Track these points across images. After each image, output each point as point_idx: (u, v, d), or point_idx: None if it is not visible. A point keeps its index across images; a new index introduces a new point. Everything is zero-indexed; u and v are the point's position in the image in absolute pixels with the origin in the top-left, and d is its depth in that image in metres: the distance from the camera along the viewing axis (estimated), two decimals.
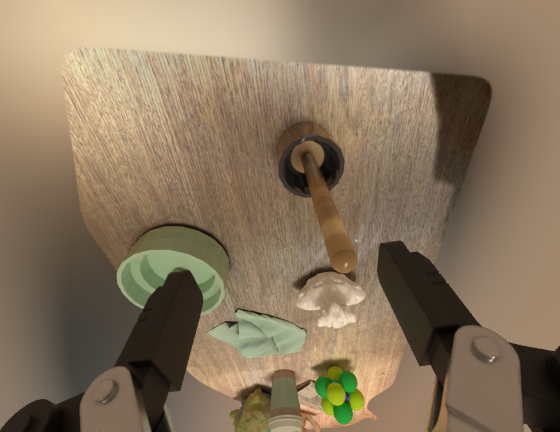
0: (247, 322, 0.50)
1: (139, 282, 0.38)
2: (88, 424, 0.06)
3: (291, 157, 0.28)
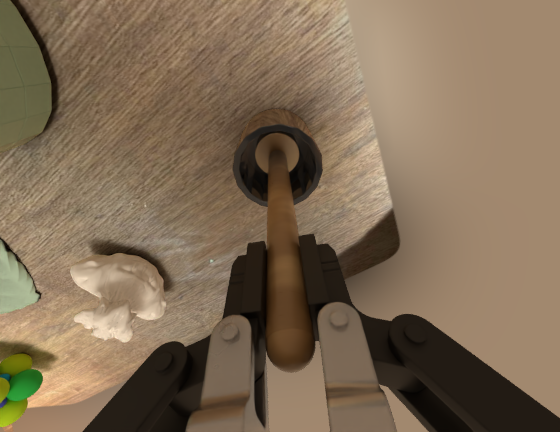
0: None
1: None
2: (226, 359, 0.06)
3: (266, 136, 0.21)
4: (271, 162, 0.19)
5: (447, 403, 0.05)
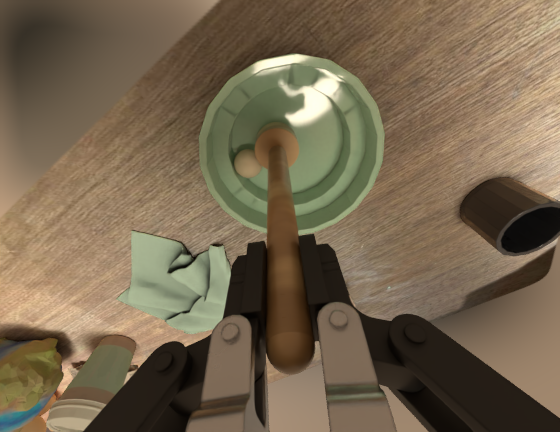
0: (204, 266, 0.34)
1: (235, 95, 0.19)
2: (226, 359, 0.06)
3: (268, 131, 0.21)
4: (271, 158, 0.19)
5: (447, 403, 0.05)
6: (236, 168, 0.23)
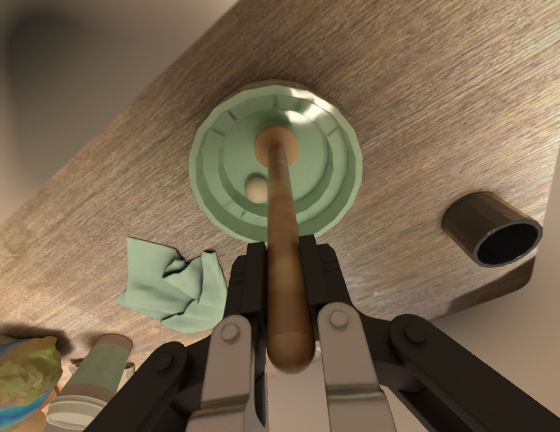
0: (197, 271, 0.35)
1: (223, 117, 0.21)
2: (226, 359, 0.06)
3: (268, 129, 0.20)
4: (271, 156, 0.18)
5: (447, 403, 0.05)
6: (262, 202, 0.26)
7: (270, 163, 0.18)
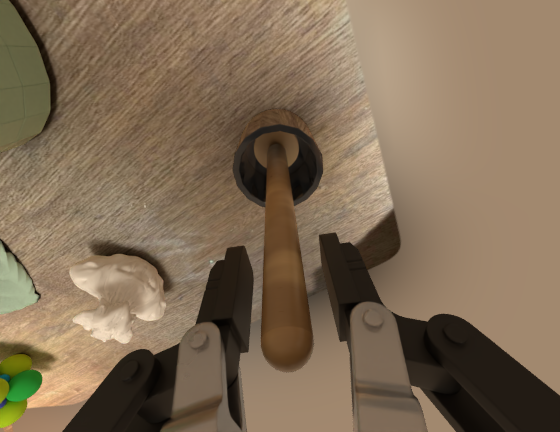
0: None
1: None
2: (192, 367, 0.06)
3: None
4: (271, 155, 0.18)
5: (484, 406, 0.05)
6: None
7: (269, 161, 0.17)
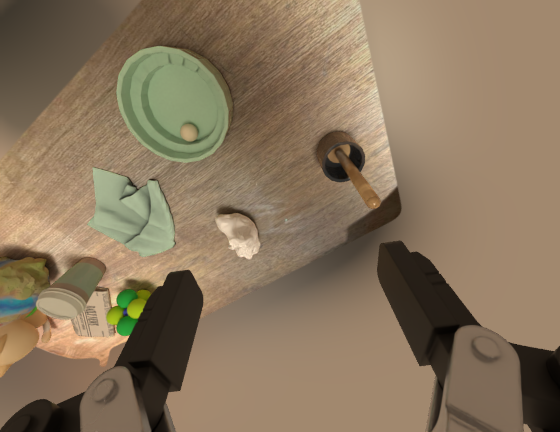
0: (146, 196, 0.48)
1: (139, 70, 0.34)
2: (88, 424, 0.06)
3: None
4: (341, 154, 0.39)
5: None
6: None
7: (341, 157, 0.38)
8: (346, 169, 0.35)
